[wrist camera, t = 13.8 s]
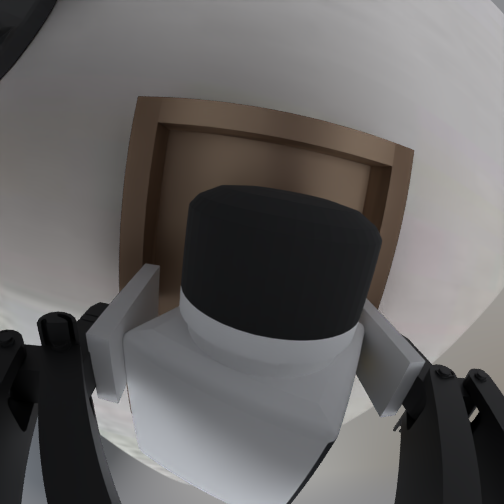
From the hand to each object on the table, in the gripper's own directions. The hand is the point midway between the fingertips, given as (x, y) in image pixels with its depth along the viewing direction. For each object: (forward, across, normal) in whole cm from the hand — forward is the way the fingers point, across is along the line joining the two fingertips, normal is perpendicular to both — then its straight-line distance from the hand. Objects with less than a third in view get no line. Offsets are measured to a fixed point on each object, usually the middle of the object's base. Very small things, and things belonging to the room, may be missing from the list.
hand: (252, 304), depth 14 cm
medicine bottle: (-4, 0, -6) cm, 8 cm away
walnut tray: (+3, 0, 0) cm, 3 cm away
